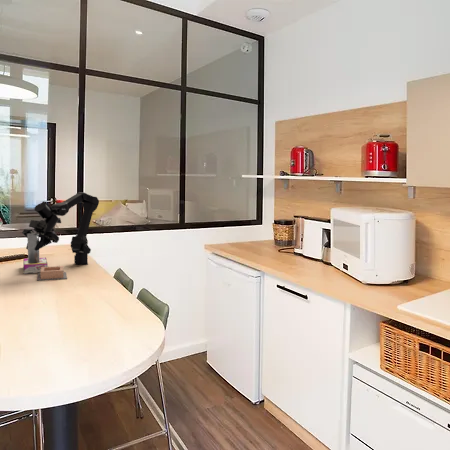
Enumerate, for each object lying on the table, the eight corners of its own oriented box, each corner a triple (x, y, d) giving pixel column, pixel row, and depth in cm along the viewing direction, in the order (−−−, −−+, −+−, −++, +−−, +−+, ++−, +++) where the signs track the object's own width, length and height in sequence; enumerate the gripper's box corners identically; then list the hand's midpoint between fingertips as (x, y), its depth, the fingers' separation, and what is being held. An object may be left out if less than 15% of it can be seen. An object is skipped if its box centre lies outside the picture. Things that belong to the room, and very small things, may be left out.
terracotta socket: (66, 272, 202) (66, 265, 201) (66, 279, 190) (66, 271, 189) (38, 274, 197) (37, 266, 196) (36, 280, 185) (36, 272, 184)
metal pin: (39, 261, 196) (38, 233, 194) (39, 263, 191) (39, 234, 189) (28, 261, 193) (27, 233, 192) (28, 263, 189) (27, 234, 187)
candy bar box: (46, 256, 215) (48, 263, 201) (46, 265, 216) (48, 272, 201) (22, 257, 210) (23, 264, 195) (23, 267, 210) (23, 274, 196)
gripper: (24, 212, 196) (6, 237, 187) (54, 215, 190) (36, 241, 181) (37, 226, 205) (20, 251, 196) (66, 229, 198) (49, 255, 189)
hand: (31, 249), depth 190 cm, fingers closed on metal pin, 5 cm apart
